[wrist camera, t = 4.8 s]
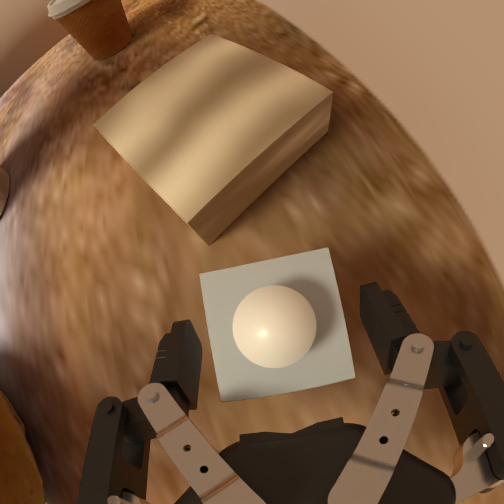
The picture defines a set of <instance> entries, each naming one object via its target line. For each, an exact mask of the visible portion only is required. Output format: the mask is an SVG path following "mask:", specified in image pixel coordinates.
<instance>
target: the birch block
mask: <svg viewBox="0 0 504 504" xmlns="http://www.w3.org/2000/svg"><path fill="white" fill-rule="evenodd" d="M332 98H333V91H331V90H329V89H328V88H326V87H324V86H322V85H321V84H319V83H317V82H315V81H314V80H312V79H310V78H308V77H306V76H304V75H303V74H301V73H299V72H297V71H295V70H293V69H291V68H289V67H287V66H285V65H283V64H281V63H279V62H277V61H275V60H273V59H271V58H268V57H266V56H264V55H262V54H260V53H258V52H255V51H253V50H251V49H248V48H246V47H244V46H241V45H239V44H236V43H234V42H231V41H229V40H226V39H224V38H221V37H218V36H216V35H213V34H210V35H208V36H206V37H205V38H203V39H201V40H200V41H198V42H197V43H195V44H194V45H192V46H190V47H189V48H187V49H186V50H184V51H183V52H181V53H180V54H179V55H177V56H176V57H174V58H173V59H171V60H170V61H169V62H167V63H166V64H164V65H163V66H162V67H160V68H159V69H158V70H156V71H155V72H154V73H152V74H151V75H150V76H148V77H147V78H146V79H145V80H143V81H142V82H141V83H140V84H138V85H137V86H136V87H135V88H133V89H132V90H131V91H130V92H129V93H127V94H126V95H125V96H124V97H123V98H122V99H120V100H119V101H118V102H117V103H116V104H115V105H114V106H113V107H111V108H110V109H109V110H108V111H107V112H106V113H105V114H104V115H103V116H102V117H101V118H100V119H98V120H97V121H96V122H95V123H94V124H93V126H94V127H95V128H96V129H97V130H98V131H99V133H100V134H101V135H102V136H103V137H104V138H105V139H106V140H107V141H108V142H109V143H110V145H111V146H112V147H113V148H114V149H115V150H116V151H117V152H118V153H119V154H120V155H121V156H122V157H123V158H124V160H125V161H126V162H127V163H128V164H129V165H130V166H131V167H132V168H133V169H134V170H135V171H136V172H137V173H138V174H139V175H140V176H141V177H142V178H143V179H144V180H145V181H146V182H147V184H148V185H149V186H150V187H151V188H152V189H153V190H154V191H155V192H156V193H157V194H158V195H159V196H160V197H161V198H162V199H163V200H164V201H165V202H166V203H167V204H168V205H169V206H170V207H171V208H172V209H173V210H174V211H175V212H176V213H177V214H178V215H179V216H180V217H181V218H182V219H183V220H184V221H185V222H186V223H187V224H188V225H189V226H190V227H191V228H192V229H193V230H194V231H195V232H196V233H197V234H198V235H199V236H200V237H201V238H202V239H203V240H204V241H205V242H206V243H207V244H208V245H210V244H211V243H212V242H213V241H214V240H215V239H216V238H217V237H218V236H219V235H220V234H221V233H222V232H223V231H224V230H225V229H226V228H227V227H228V226H229V225H230V224H231V223H232V222H233V221H234V220H235V219H236V218H237V217H238V216H239V215H240V214H241V213H242V212H243V211H244V210H245V209H246V208H247V207H248V206H249V205H250V204H252V203H253V202H254V201H255V200H256V199H257V198H258V197H259V196H260V195H261V194H262V193H263V192H264V191H265V190H266V189H267V188H268V187H269V186H270V185H271V184H272V183H273V182H274V181H275V180H276V179H277V178H279V177H280V176H281V175H282V174H283V173H284V172H285V171H286V170H287V169H288V168H289V167H290V166H291V165H292V164H293V163H294V162H295V161H296V160H298V159H299V158H300V157H301V156H302V155H303V154H304V153H305V152H306V151H307V150H308V149H309V148H310V147H311V146H313V145H314V144H315V143H316V142H317V141H318V140H319V139H320V138H321V137H322V136H323V135H325V134H326V133H327V132H328V128H329V121H330V114H331V106H332Z"/></svg>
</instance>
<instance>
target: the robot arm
mask: <svg viewBox="0 0 504 504" xmlns="http://www.w3.org/2000/svg"><path fill="white" fill-rule="evenodd" d="M9 186H10V179H9V175H8V173H7V172H6V171H5V170H3V169H2V168H0V216H1V214H2V212H3V209H4V206H5V204H6V200H7V197H8V193H9ZM360 316H361V320H362V323H363V325H364V327H365V330H366V332H367V334H368V336H369V339H370V341H371V343H372V346H373V348H374V350H375V353H376V355H377V357H378V360H379V362H380V364H381V367H382V369H383V372H384V374H385V375H387V374H390V373H391V376H390V378H389V379H388V380H387V382H386V385H385V387H384V390H383V392H382V394H381V397H380V399H379V401H378V404H377V406H376V408H375V411H374V413H373V415H372V417H371V419H370V421H369V423H368V426H367V427H366V426H362V425H359V424H353V423H344V422H343V418H342V417H340V418H336V419H332V420H327V421H323V422H318V423H315V424H313V425H311V426H309V427H306V428H304V429H302V430H299V431H297V432H294V433H274V432H259V433H251V434H241V435H240V441H239V442H236V443H234V444H232V445H230V446H228V447H226V448H225V449H224V450H222V451H221V452H220V453H218V452H217V451H216V450H215V449H214V447H213V446H212V445H211V444H210V443H209V442H208V441H207V439H206V438H205V437H204V436H203V435H202V433H201V432H200V431H199V430H198V429H197V427H196V426H195V425H194V424H193V422H192V421H191V420H190V419H189V417H188V411H189V410H194V409H197V400H198V390H199V380H200V370H201V361H202V346H201V342H200V340H199V338H198V336H197V334H196V332H195V330H194V327H193V325H192V323H191V321H190V320H183V321H177V322H173V325H172V329H171V333H168V334H165V335H164V337H163V338H162V339H161V341H160V343H159V347H158V352H157V355H156V359H155V363H154V367H153V371H152V375H151V379H150V383H149V384H148V385H146V386H145V387H143V388H142V389H141V391H140V392H139V394H138V397H136V398H133V399H130V400H127V401H124V402H121V401H120V400H119V399H118V398H117V397H107V398H105V399H103V400H102V401H101V402H100V403H99V404H98V406H97V409H96V413H95V417H94V421H93V425H92V429H91V434H90V438H89V443H88V448H87V452H86V457H85V463H84V468H83V473H82V479H81V485H80V492H79V498H78V504H150V503H149V502H148V501H146V489H147V474H148V462H149V451H150V440H151V439H153V438H157V439H158V440H159V442H160V443H161V445H162V446H163V448H164V449H165V451H166V452H167V454H168V455H169V457H170V458H171V460H172V461H173V463H174V464H175V465H176V467H177V468H178V470H179V471H180V472H181V474H182V475H183V476H184V478H185V479H186V480H187V482H188V483H189V484H190V487H189V488H188V489H187V490H186V492H185V493H184V494H183V495H182V496H181V497H180V498H179V499H178V500H177V501H176V502H175V503H174V504H457V503H459V502H461V501H463V500H465V499H467V498H469V497H471V496H473V495H475V494H477V493H486V492H489V491H491V490H492V489H494V488H496V487H497V486H499V485H501V484H502V483H504V382H503V380H502V379H501V377H500V375H499V373H498V371H497V369H496V367H495V366H494V364H493V362H492V360H491V359H490V357H489V355H488V353H487V352H486V350H485V348H484V347H483V345H482V343H481V342H480V340H479V338H478V337H477V336H476V335H475V334H474V333H472V332H469V331H460V332H457V333H456V334H455V335H454V336H453V338H452V340H451V341H432V340H431V339H430V338H429V337H428V336H426V335H424V334H420V333H419V331H418V329H417V328H416V326H415V324H414V323H413V321H412V319H411V318H410V316H409V315H408V313H407V311H405V308H404V306H403V305H402V304H401V302H400V300H399V299H398V297H397V296H396V295H395V294H393V293H392V292H391V291H389V290H386V291H383V292H382V290H381V289H380V287H379V285H378V284H377V283H376V282H373V283H369V284H365V285H361V286H360ZM430 388H439V390H440V393H441V395H442V398H443V400H444V403H445V405H446V408H447V410H448V413H449V416H450V418H451V421H452V424H453V427H454V429H455V432H456V435H457V438H458V441H459V444H460V447H459V448H458V450H457V451H456V452H455V454H454V458H453V465H454V470H453V474H452V476H451V477H449V476H448V475H447V474H445V473H444V472H442V471H440V470H439V469H437V468H435V467H433V466H431V465H430V464H428V463H426V462H424V461H423V460H421V459H419V458H417V457H416V456H414V455H412V454H411V453H409V452H407V451H406V450H404V449H403V448H404V445H405V443H406V440H407V438H408V435H409V432H410V430H411V427H412V424H413V422H414V419H415V416H416V413H417V410H418V407H419V404H420V401H421V398H422V394H423V391H424V389H430Z"/></svg>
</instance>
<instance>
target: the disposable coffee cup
mask: <svg viewBox="0 0 504 504" xmlns="http://www.w3.org/2000/svg"><path fill="white" fill-rule="evenodd" d="M47 7H48V11H49V14H48V15H49V17H52V18H53V19H56V20H57V21H58V22H59V23H60V24H61V25H62V26H63V27H64V28H65V29H66V30H67V31H68V32H69V33H70V34H71V35H72V36H73V37H74V39H76V41H77V42H78V43H79V44H80V45H81V46H82V47H83V48H84V49H85V50H86V51H87V52H88V53H89V54H90V55H91V56H92V57H93V58H94V59H95V60H102V59H105V58H108V57H110V56H112V55H114V54H116V53H117V52H119V51H120V50H121V49H123V48H124V47H125V46H126V45H127V44H128V43H129V42H130V41H131V39H132V33H131V30H130V27H129V24H128V21H127V18H126V15H125V12H124V9H123V6H122V3H121V0H52V1H51V2H50V3H49V4H48V6H47Z"/></svg>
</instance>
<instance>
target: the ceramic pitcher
mask: <svg viewBox="0 0 504 504" xmlns="http://www.w3.org/2000/svg"><path fill="white" fill-rule="evenodd" d="M0 504H45V494H44V489H43V480H42V478H41V475H40V473H39V470H38V468H37V465H36V462H35V459H34V455H33V453H32V450H31V448H30V446H29V444H28V442H27V440H26V438H25V427H24V424H23V423H22V421H21V420H20V418H19V417H18V415H17V413H16V412H15V410H14V408H13V406H12V404H11V403H10V401H9V400H8V398H7V397H6V395H5V394H4V393H3V392H2V391H1V390H0Z"/></svg>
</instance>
